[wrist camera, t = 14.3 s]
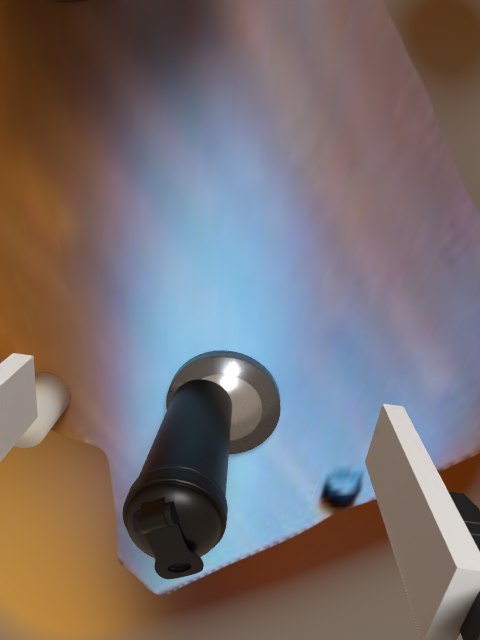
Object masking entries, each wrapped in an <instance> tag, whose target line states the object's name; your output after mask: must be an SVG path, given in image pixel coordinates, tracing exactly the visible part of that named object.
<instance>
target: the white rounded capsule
mask: <svg viewBox="0 0 480 640" xmlns="http://www.w3.org/2000/svg"><path fill="white" fill-rule="evenodd" d="M35 384H36V398H37V412H38V418H37V419H36V420H35V421H34V422H33V424H32V425H31V426H30V427H29V428H28V429H27V431H26V432H25V433H24V434H23V435H22V437H21V438H20V439H19V440H18V441H17V443H16V444H15V445H14V446H15V447H19V448H31V447H34V446H36V445H38V444H39V443H40V442H41V441H42V440H43V439H44V437H45V436H46V435H47V434H48V432H49V431H50V430H51V428H52V427H53V426H54V424H55V423H56V422H57V420H58V419H59V418H60V416H61V415H62V414H63V412H64V411H65V410H66V408H67V407H68V406H69V404H70V401H71V393H70V390H69V388H68V386H67V385H66V383H65V382H64V381H63V380H62V379H60V378H59V377H57V376H55V375H53V374H50V373H36V374H35Z"/></svg>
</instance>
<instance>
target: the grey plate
mask: <svg viewBox="0 0 480 640" xmlns="http://www.w3.org/2000/svg"><path fill="white" fill-rule="evenodd" d="M196 379H204V380H209V381H212V382H215V383H217V384H219V385H220V386H222V387H223V388H224V389H225V390H226V391H227V393H228V394H229V396H230V398H231V401H232V418H231V431H230V444H229V454H236V453H241V452H245V451H248V450H250V449H253V448H255V447H257V446H258V445H260V444H261V443H263V442H264V441H265V440H266V439H267V438H268V437H269V436H270V435H271V434H272V432H273V431H274V429H275V427H276V425H277V423H278V420H279V416H280V395H279V390H278V387H277V384H276V382H275V380H274V378H273V377H272V375H271V374H270V372H269V371H268V370H267V369H266V368H265V367H264V366H263V365H261V364H260V363H259V362H257V361H256V360H254V359H253V358H251V357H248V356H246V355H244V354H240V353H237V352H232V351H212V352H207V353H204V354H200V355H198V356H196V357H194V358H192V359H190V360H189V361H187V362H186V363H185V364H184V365H183V366H182V367H181V368H180V369H179V370H178V372H177V373H176V374H175V376H174V378H173V380H172V383H171V385H170V388H169V391H168V394H167V400H166V401H167V410H168V407H169V405H170V403H171V400H172V398H173V396H174V393H175V392H176V390H177V389H178V388H179V387H180V386H181V385H182V384H184V383H186V382H188V381H191V380H196Z"/></svg>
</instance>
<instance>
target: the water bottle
mask: <svg viewBox="0 0 480 640" xmlns="http://www.w3.org/2000/svg"><path fill="white" fill-rule="evenodd" d="M231 418H232V401H231V398H230V396H229V394H228V393H227V391H226V390H225V389H224V388H223V387H222V386H220V385H219V384H217V383H215V382H212V381H209V380H204V379H196V380H191V381H188V382H186V383H184V384H182V385H181V386H180V387H179V388H178V389H177V390H176V392H175V393H174V396H173V398H172V400H171V403H170V405H169V407H168V410H167V412H166V414H165V417H164V419H163V422H162V424H161V426H160V429H159V431H158V433H157V436H156V438H155V440H154V443H153V445H152V447H151V450H150V452H149V454H148V457H147V459H146V461H145V464H144V466H143V468H142V471H141V473H140V475H139V477H138V479H137V480H136V481H135V482H134V484H133V485H132V486H131V488H130V490H129V493H128V495H127V498H126V501H125V503H124V507H123V520H124V524H125V526H126V529H127V531H128V533H129V535H130V537H131V539H132V540H133V542H134V543H135V544H136V546H137V547H138V548H139V549H141V550H142V551H143V552H144V553H146V554H147V555H149V556H151V557H153V558H155V559H156V561H155V570H156V572H157V573H158V575H159V576H161V577H162V578H165V579H174V578H180V577H184V576H189V575H192V574H196V573H198V572H200V571H202V570H203V566H204V565H203V561H202V560H201V558H200V557H201V556H203V555H205V554H206V553H207V552H209V551H210V550H211V549H212V548H213V547H215V545H216V544H217V543H218V542H219V541H220V540H221V538H222V537H223V535H224V532H225V529H226V522H227V513H228V507H227V501H226V497H225V496H226V483H227V470H228V457H229V444H230V431H231Z"/></svg>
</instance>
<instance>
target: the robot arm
mask: <svg viewBox="0 0 480 640" xmlns="http://www.w3.org/2000/svg"><path fill="white" fill-rule="evenodd" d="M55 1H60V2H78V1H83V0H55ZM37 418H38V412H37V398H36V384H35V370H34V356H30V355H23V354H16V353H13V354H12V355H10V356H9V357H8V358H7V359H5V360H4V361H3V362H2V363H1V364H0V462H1V460H2V459H3V458H4V457H5V456H6V454H7V453H8V452H9V451H10V450H11V449H12V447H13V446H14V445H15V444H16V443H17V441H18V440H19V439H20V438H21V437H22V435H23V434H24V433H25V432H26V431H27V429H28V428H29V427H30V426H31V425H32V424H33V422H34V421H35V420H36V419H37ZM365 463H366V466H367V470H368V473H369V476H370V479H371V482H372V485H373V489H374V492H375V495H376V498H377V501H378V504H379V508H380V511H381V514H382V517H383V520H384V524H385V527H386V530H387V533H388V536H389V539H390V543H391V545H392V549H393V552H394V555H395V558H396V562H397V565H398V568H399V571H400V574H401V577H402V581H403V584H404V587H405V590H406V593H407V596H408V600H409V603H410V606H411V609H412V612H413V615H414V619H415V622H416V625H417V628H418V631H419V634H420V638H421V640H456V639H457V638H458V636H459V634H460V633H461V635H462V638H463V640H480V510H479V508H478V507H477V506H476V505H475V504H474V503H473V502H472V501H471V500H470V499H469V498H468V497H467V496H466V495H465V494H463V493H456V492H449V491H447V489H446V487H445V485H444V483H443V481H442V479H441V477H440V475H439V474H438V472H437V470H436V468H435V466H434V464H433V462H432V460H431V458H430V457H429V455H428V453H427V451H426V449H425V447H424V445H423V443H422V441H421V439H420V438H419V436H418V434H417V432H416V430H415V428H414V426H413V424H412V422H411V421H410V419H409V417H408V415H407V413H406V411H405V409H404V407H402V406H395V405H388V404H383V405H382V408H381V411H380V415H379V418H378V421H377V425H376V428H375V431H374V435H373V438H372V441H371V445H370V448H369V451H368V454H367V458H366V461H365Z"/></svg>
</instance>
